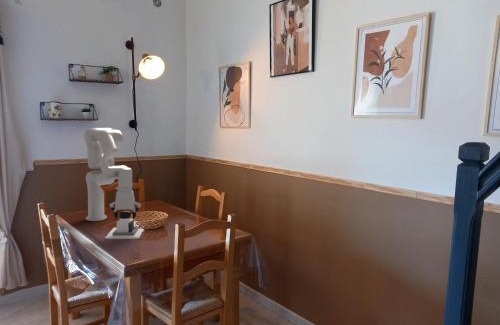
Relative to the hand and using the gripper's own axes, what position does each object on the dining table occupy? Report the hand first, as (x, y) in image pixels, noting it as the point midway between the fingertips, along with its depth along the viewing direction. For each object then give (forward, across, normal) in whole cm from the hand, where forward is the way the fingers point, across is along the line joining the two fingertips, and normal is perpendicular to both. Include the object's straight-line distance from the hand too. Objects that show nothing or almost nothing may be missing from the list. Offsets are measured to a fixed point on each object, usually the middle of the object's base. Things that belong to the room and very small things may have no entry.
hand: (125, 218), depth 197 cm
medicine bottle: (+8, 0, 0) cm, 8 cm away
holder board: (+9, 0, 0) cm, 9 cm away
